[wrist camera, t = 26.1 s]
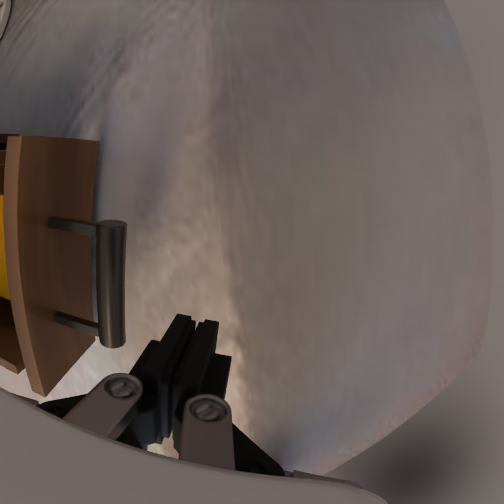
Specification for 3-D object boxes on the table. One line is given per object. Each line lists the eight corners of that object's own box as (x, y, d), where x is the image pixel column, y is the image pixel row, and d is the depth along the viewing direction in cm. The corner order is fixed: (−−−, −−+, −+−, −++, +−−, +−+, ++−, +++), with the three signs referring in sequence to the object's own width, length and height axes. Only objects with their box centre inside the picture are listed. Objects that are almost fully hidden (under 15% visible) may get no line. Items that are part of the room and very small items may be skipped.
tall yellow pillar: (13, 189, 18) (-9, 193, 16) (36, 191, 18) (14, 195, 16) (19, 296, 20) (1, 307, 18) (41, 304, 20) (23, 316, 18)
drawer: (166, 145, 18) (105, 134, 10) (151, 356, 22) (111, 425, 14) (-19, 143, 18) (-82, 147, 11) (-13, 298, 22) (-63, 330, 15)
